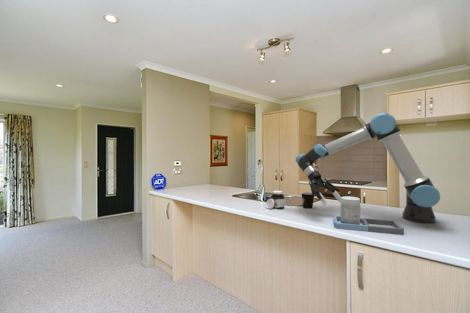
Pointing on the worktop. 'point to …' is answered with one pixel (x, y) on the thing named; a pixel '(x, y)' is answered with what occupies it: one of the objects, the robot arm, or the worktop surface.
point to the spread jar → (276, 200)
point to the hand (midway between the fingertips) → (333, 202)
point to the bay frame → (366, 227)
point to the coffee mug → (307, 200)
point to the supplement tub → (350, 210)
